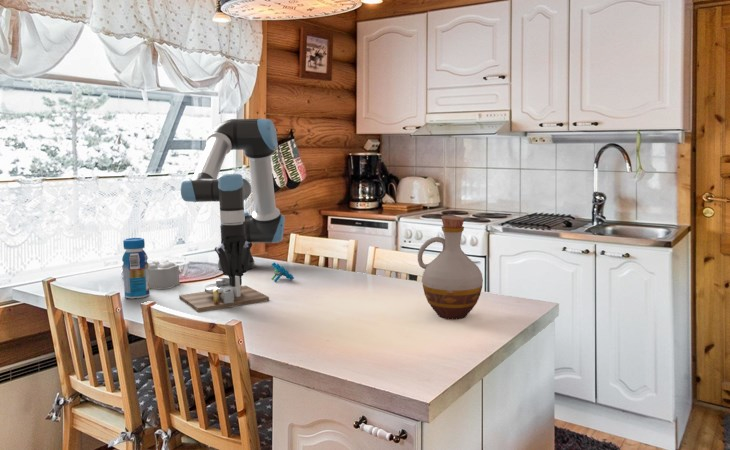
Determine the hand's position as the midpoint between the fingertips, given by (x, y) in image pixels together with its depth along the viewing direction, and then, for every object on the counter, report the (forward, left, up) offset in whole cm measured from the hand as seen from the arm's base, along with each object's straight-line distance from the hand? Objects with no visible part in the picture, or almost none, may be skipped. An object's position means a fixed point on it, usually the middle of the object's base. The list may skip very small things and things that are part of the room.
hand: (236, 295), depth 194 cm
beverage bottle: (-32, -24, -4) cm, 40 cm away
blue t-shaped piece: (-25, +28, -4) cm, 37 cm away
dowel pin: (-2, -6, -2) cm, 7 cm away
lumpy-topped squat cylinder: (-45, -13, -4) cm, 47 cm away
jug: (+48, +48, -4) cm, 68 cm away
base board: (-10, -1, -3) cm, 11 cm away
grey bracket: (-7, -1, -1) cm, 7 cm away
